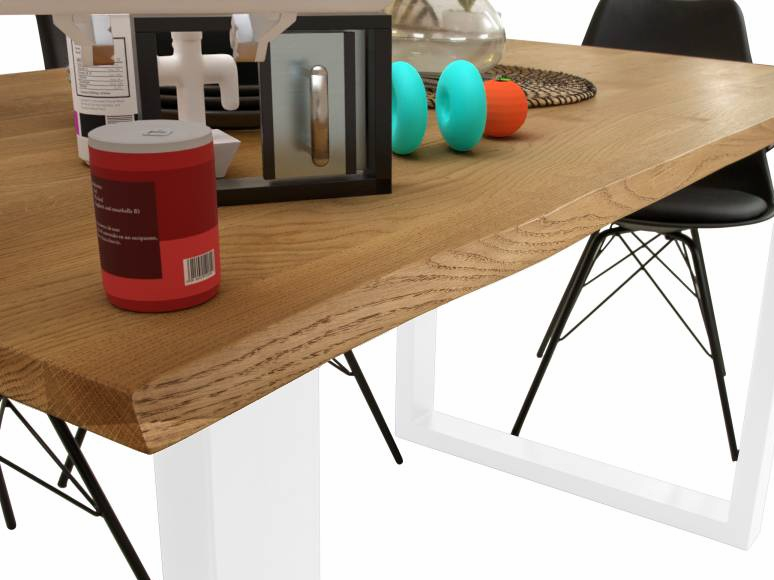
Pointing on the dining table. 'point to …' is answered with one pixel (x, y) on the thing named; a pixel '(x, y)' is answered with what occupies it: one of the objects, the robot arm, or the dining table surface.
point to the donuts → (438, 106)
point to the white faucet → (201, 88)
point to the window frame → (370, 101)
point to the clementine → (504, 107)
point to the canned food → (156, 213)
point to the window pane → (308, 105)
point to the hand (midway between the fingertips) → (173, 53)
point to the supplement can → (103, 85)
